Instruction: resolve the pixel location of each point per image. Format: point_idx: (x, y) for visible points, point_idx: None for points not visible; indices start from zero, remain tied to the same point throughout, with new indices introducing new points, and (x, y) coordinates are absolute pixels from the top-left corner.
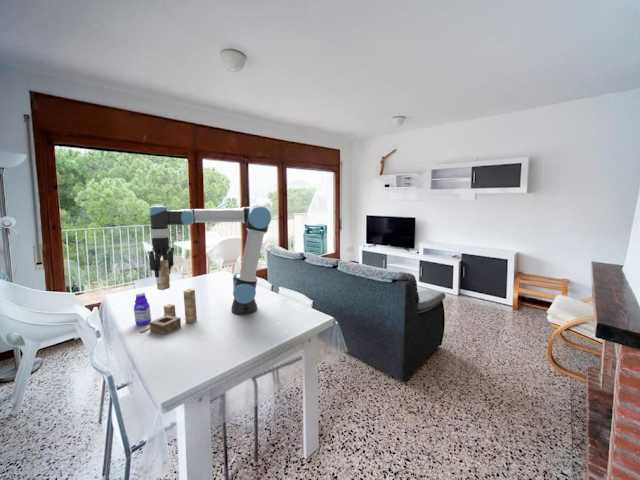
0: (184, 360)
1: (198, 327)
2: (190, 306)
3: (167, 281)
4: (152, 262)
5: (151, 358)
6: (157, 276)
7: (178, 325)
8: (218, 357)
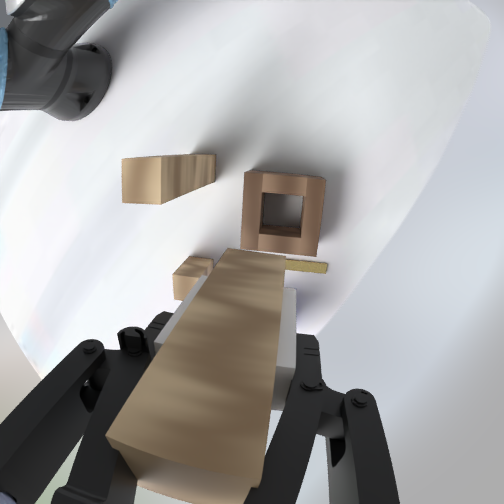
0: (408, 28)
1: (233, 106)
2: (191, 155)
3: (231, 272)
4: (394, 490)
5: (434, 113)
6: (310, 340)
7: (259, 171)
8: None
